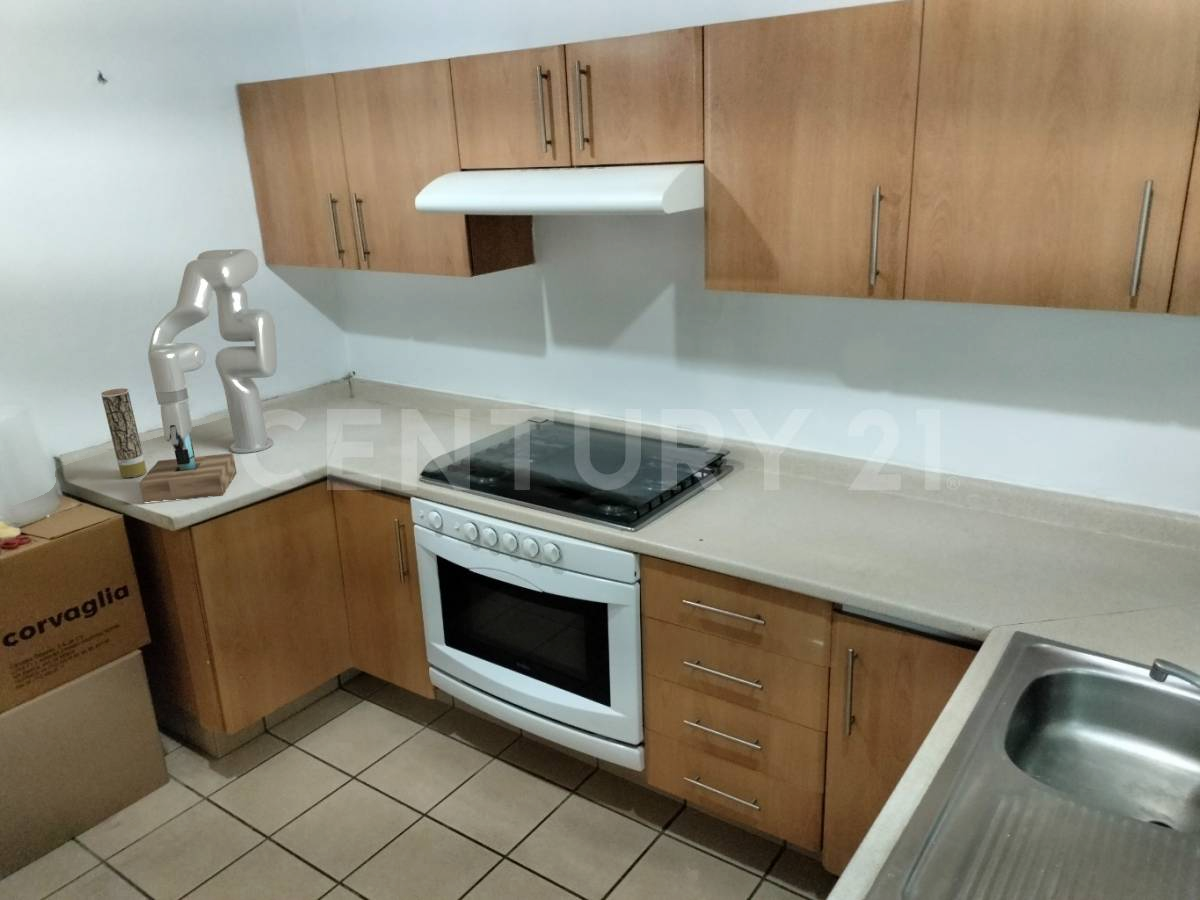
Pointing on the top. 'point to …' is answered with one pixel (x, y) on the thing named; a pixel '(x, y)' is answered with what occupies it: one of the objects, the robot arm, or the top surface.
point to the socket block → (188, 478)
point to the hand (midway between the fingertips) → (186, 460)
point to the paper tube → (124, 432)
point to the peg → (192, 464)
